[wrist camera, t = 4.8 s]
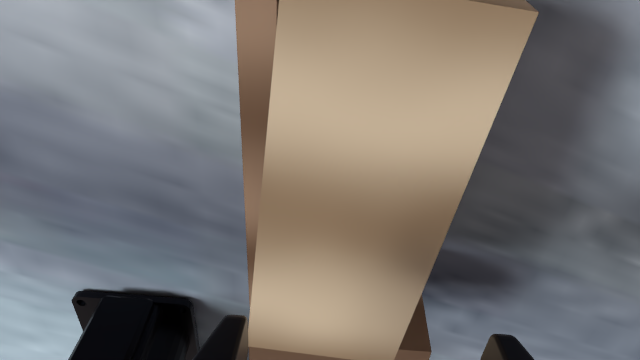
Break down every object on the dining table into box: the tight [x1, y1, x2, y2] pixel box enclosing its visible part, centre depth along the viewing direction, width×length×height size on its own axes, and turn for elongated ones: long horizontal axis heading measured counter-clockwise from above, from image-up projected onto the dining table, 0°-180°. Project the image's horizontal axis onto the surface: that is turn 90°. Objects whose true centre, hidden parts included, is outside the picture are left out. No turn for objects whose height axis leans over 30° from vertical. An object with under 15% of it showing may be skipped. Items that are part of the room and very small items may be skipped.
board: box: [248, 0, 539, 360], centre depth 14 cm, size 12×5×4 cm, turn 172°
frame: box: [235, 0, 431, 360], centre depth 16 cm, size 19×8×6 cm, turn 177°
